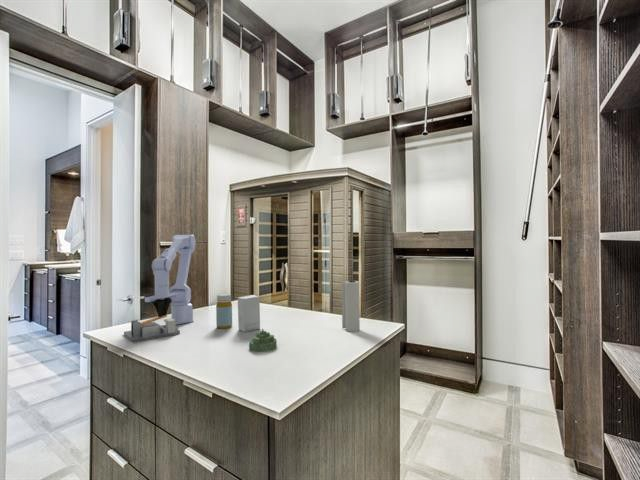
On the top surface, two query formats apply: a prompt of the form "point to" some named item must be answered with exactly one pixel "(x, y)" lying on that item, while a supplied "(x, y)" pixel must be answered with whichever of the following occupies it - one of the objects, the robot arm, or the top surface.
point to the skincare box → (248, 313)
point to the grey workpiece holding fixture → (147, 331)
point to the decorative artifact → (262, 342)
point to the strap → (152, 320)
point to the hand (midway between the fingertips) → (162, 316)
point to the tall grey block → (350, 306)
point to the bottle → (224, 311)
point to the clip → (170, 325)
